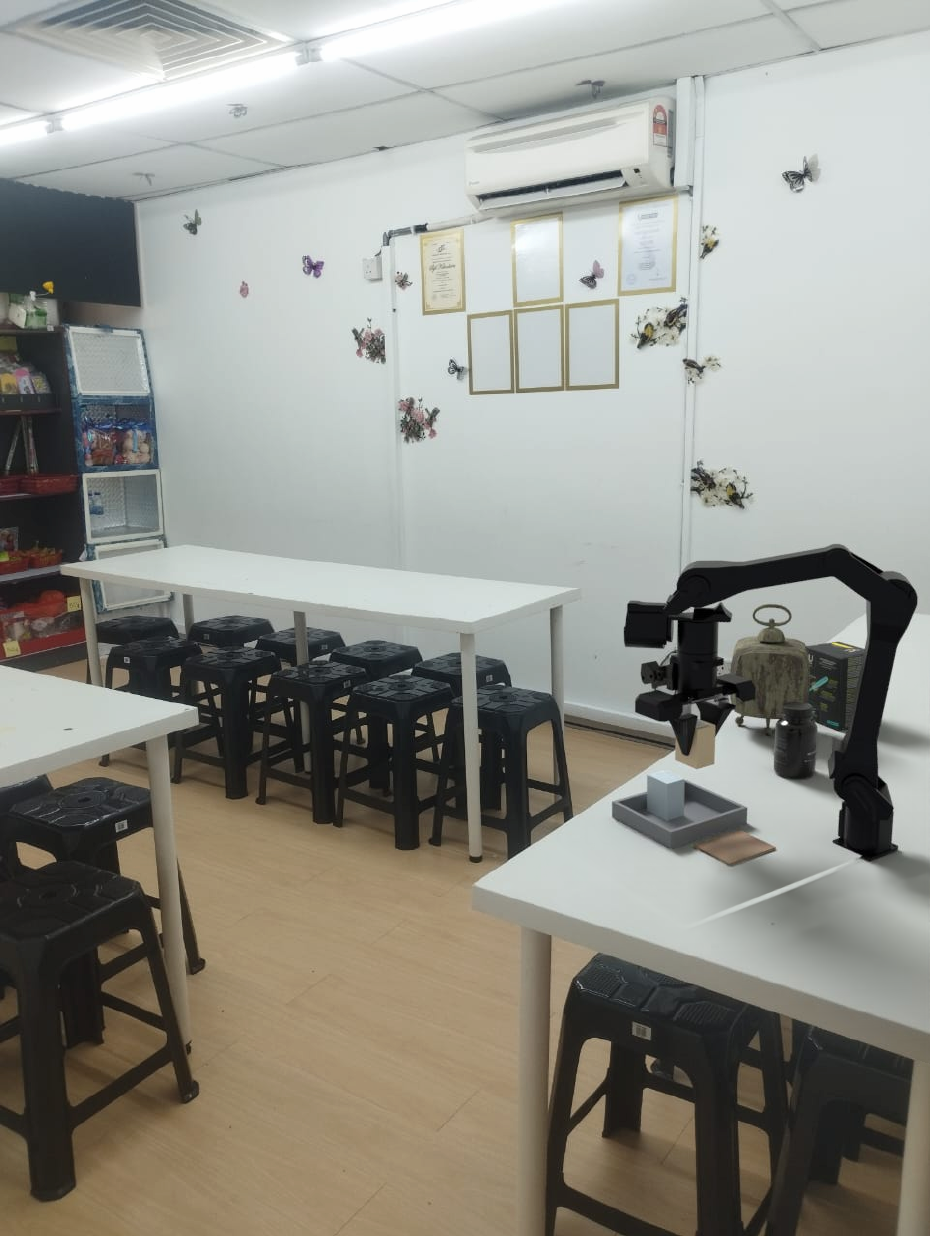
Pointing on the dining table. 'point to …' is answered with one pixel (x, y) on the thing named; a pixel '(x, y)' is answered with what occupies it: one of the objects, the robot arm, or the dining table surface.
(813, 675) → the tampon box
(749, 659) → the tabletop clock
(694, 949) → the dining table surface
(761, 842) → the board
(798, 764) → the supplement bottle
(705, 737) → the carton tan
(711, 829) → the bin
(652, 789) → the carton blue
